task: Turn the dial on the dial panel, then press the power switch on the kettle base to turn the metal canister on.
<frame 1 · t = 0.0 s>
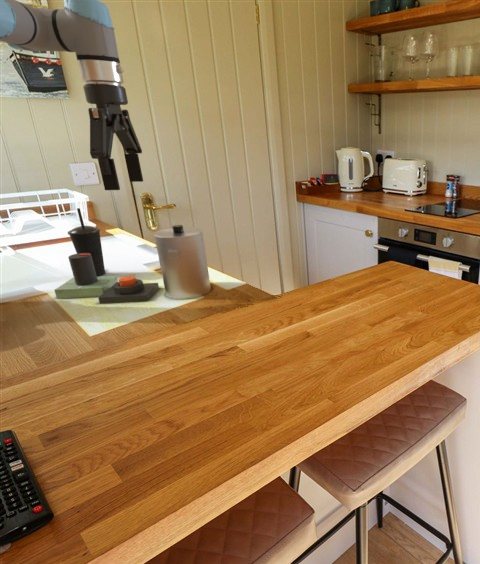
hand: (125, 185, 98), 30 cm above the breakfast bar, tool pointing down, fingers open, 13 cm apart
drinking cup: (95, 275, 127), on the breakfast bar
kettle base: (131, 297, 111), on the breakfast bar
dial: (83, 268, 111), point 7 cm above the breakfast bar, hinge at 0.0°
metal canister: (189, 293, 115), on the breakfast bar
dial panel: (89, 292, 114), on the breakfast bar
power switch: (127, 281, 110), point 4 cm above the breakfast bar, slide at 0.1 cm
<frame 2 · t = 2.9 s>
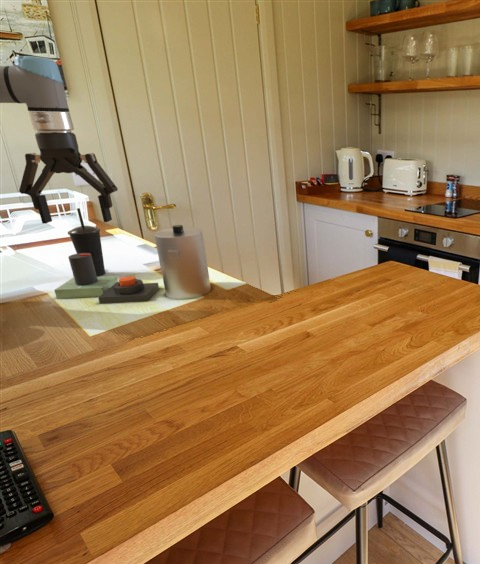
hand: (78, 221, 106), 20 cm above the breakfast bar, tool pointing down, fingers open, 13 cm apart
nothing on the breakfast bar moved.
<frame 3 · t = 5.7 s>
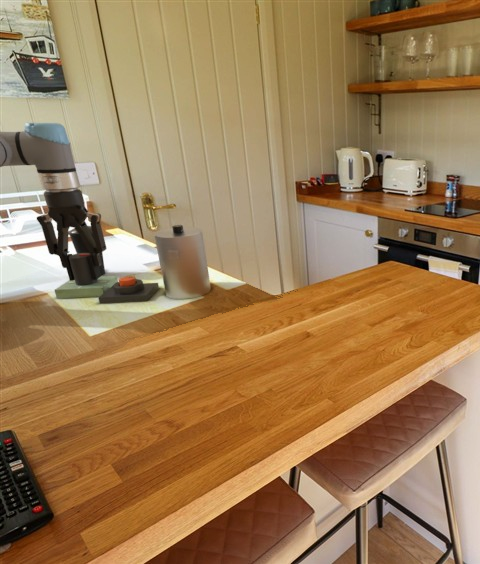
hand: (85, 278, 112), 4 cm above the breakfast bar, tool pointing down, fingers closed on dial, 5 cm apart
dial: (83, 268, 111), point 7 cm above the breakfast bar, hinge at 0.0°, touching gripper
everything else where it was.
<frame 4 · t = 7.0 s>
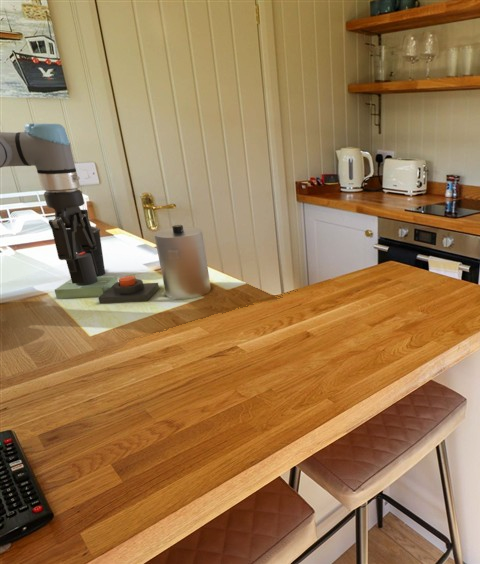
hand: (85, 277, 112), 4 cm above the breakfast bar, tool pointing down, fingers open, 6 cm apart
dial: (83, 268, 111), point 7 cm above the breakfast bar, hinge at 90.6°
everything else where it was.
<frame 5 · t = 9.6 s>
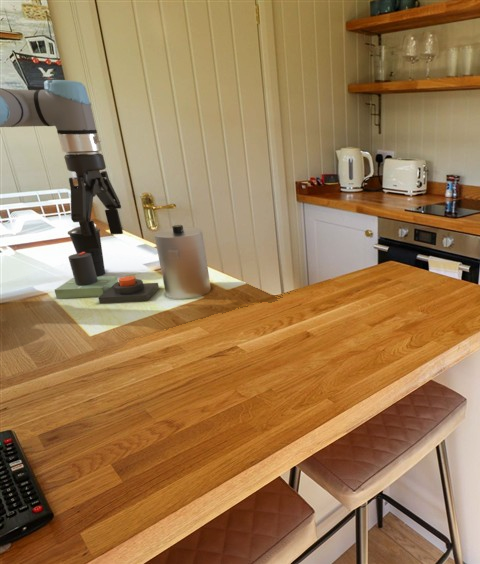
hand: (105, 240, 107), 15 cm above the breakfast bar, tool pointing down, fingers open, 13 cm apart
nothing on the breakfast bar moved.
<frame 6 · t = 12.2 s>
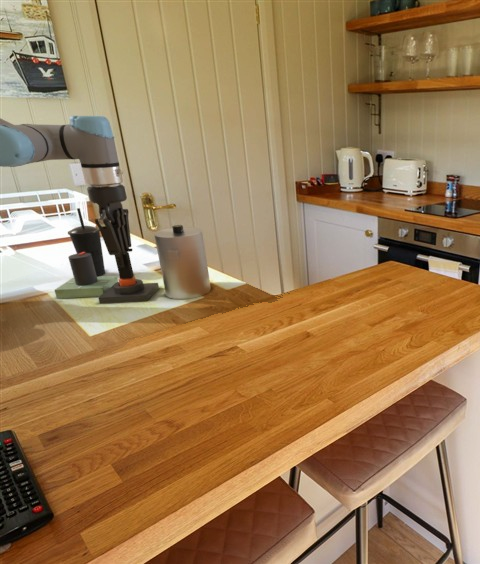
hand: (127, 277, 109), 6 cm above the breakfast bar, tool pointing down, fingers closed
power switch: (127, 281, 110), point 4 cm above the breakfast bar, slide at 0.1 cm, touching gripper
everything else where it was.
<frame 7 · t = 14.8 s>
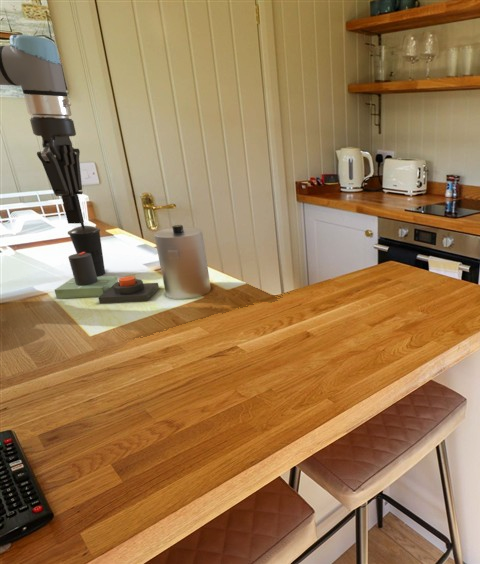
hand: (76, 222, 101), 21 cm above the breakfast bar, tool pointing down, fingers closed
power switch: (127, 281, 110), point 4 cm above the breakfast bar, slide at 0.1 cm
everything else where it was.
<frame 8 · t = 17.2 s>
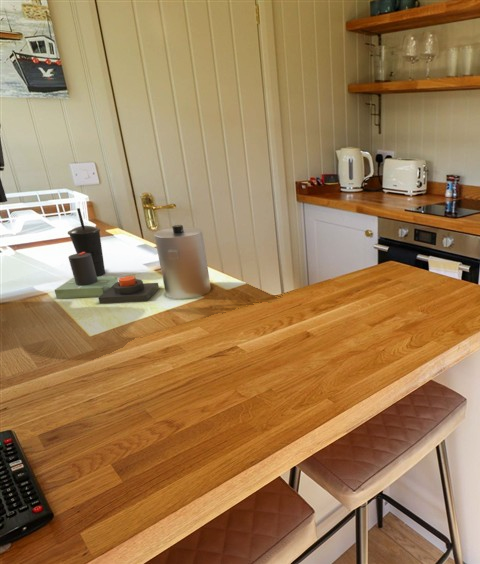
nothing on the breakfast bar moved.
at the end: dial at +91° (first picture: +0°); power switch pushed in 1.0 cm at the most during the clip, back to where it started at the end; power switch slide at 0.1 cm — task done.
